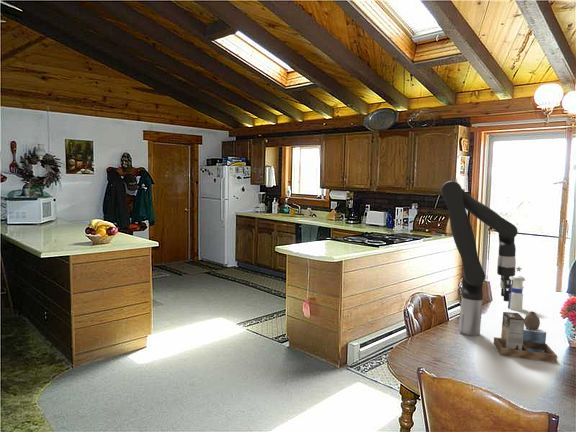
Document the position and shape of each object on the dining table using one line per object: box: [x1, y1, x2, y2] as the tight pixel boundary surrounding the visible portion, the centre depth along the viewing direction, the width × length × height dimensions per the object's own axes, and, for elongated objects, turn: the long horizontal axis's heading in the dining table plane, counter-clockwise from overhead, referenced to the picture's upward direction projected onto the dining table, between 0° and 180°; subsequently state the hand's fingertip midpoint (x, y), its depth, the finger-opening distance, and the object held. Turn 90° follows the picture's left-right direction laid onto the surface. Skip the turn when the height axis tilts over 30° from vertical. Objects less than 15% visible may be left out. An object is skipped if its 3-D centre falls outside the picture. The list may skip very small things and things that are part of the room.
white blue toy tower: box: [507, 266, 526, 312], centre depth 248 cm, size 8×9×25 cm
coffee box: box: [500, 311, 525, 350], centre depth 182 cm, size 9×6×16 cm
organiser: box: [493, 329, 558, 364], centre depth 181 cm, size 21×14×8 cm, turn 75°
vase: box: [524, 310, 541, 331], centre depth 213 cm, size 7×7×9 cm
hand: (504, 298), depth 199 cm, fingers open, 8 cm apart
